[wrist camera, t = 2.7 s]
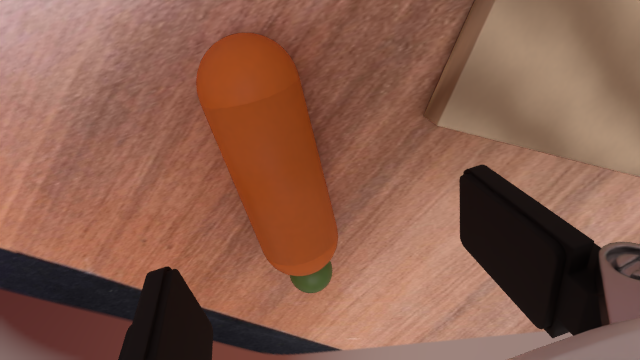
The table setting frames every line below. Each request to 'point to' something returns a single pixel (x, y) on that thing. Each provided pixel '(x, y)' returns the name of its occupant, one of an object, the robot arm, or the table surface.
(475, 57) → the chopping board
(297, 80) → the carrot
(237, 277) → the table surface
